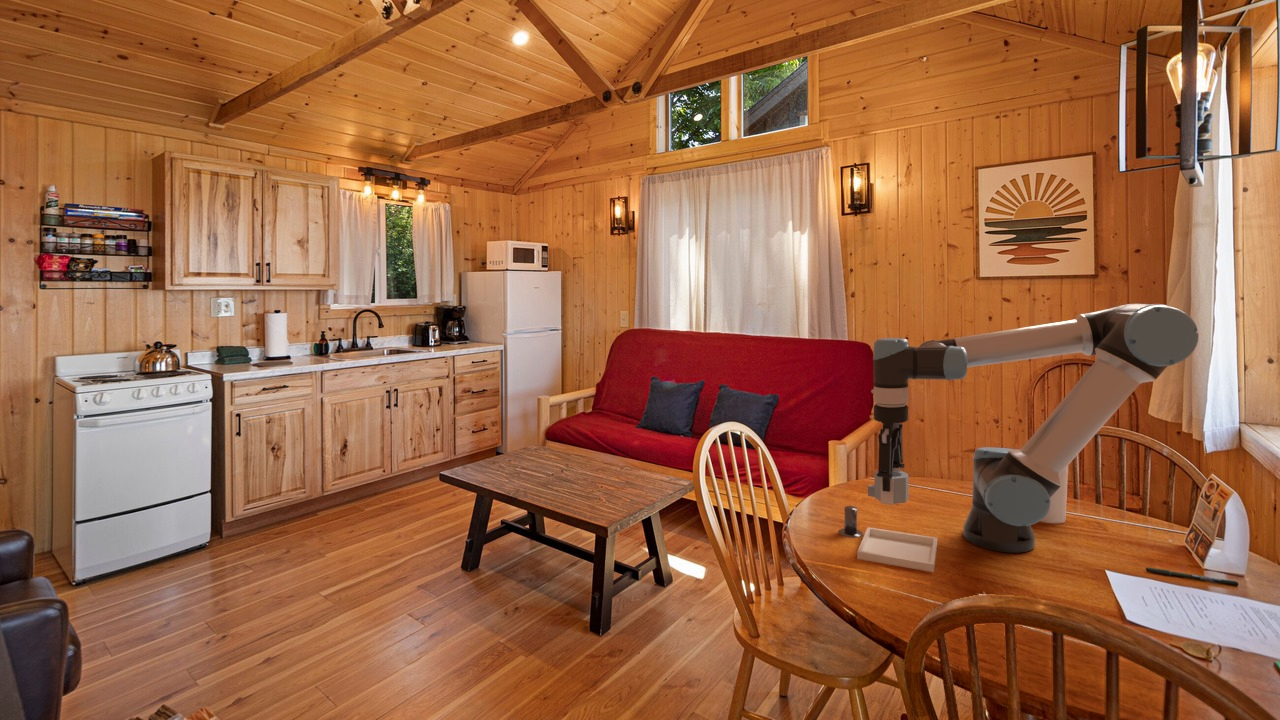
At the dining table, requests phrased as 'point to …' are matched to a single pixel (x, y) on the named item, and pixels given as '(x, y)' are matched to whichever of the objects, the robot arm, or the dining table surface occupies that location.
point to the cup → (1058, 502)
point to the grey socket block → (899, 487)
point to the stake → (850, 523)
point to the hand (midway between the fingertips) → (891, 498)
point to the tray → (898, 549)
